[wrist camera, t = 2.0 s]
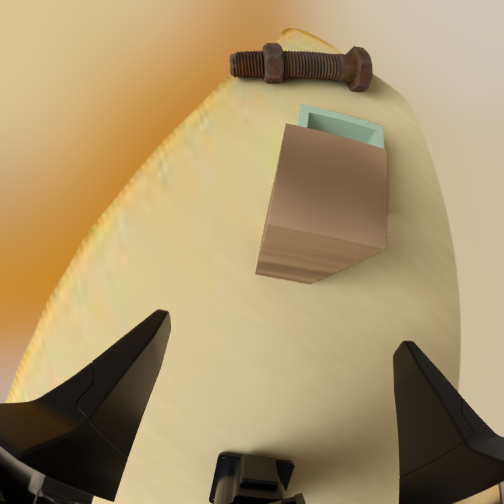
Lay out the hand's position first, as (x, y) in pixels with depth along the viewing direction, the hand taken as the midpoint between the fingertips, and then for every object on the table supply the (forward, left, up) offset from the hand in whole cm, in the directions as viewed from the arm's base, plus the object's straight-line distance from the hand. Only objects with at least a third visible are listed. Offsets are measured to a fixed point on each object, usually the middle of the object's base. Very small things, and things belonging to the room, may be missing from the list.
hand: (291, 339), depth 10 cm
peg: (+6, -1, -12) cm, 13 cm away
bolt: (+26, +1, -13) cm, 29 cm away
